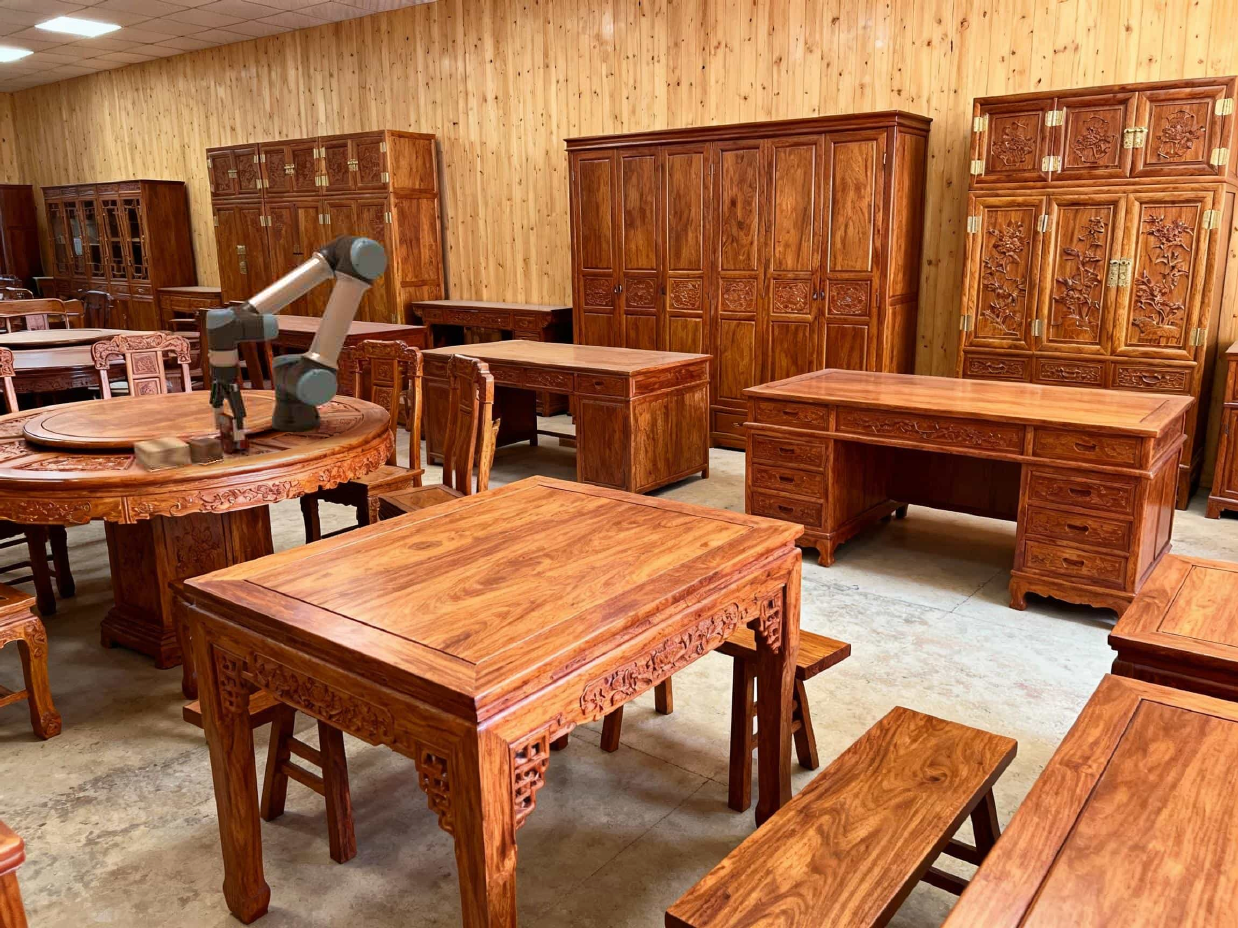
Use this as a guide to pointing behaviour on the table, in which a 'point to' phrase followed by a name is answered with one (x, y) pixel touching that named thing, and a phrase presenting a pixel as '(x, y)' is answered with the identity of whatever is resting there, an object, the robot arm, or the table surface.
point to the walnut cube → (205, 450)
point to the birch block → (162, 453)
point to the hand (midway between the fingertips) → (229, 434)
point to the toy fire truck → (229, 435)
